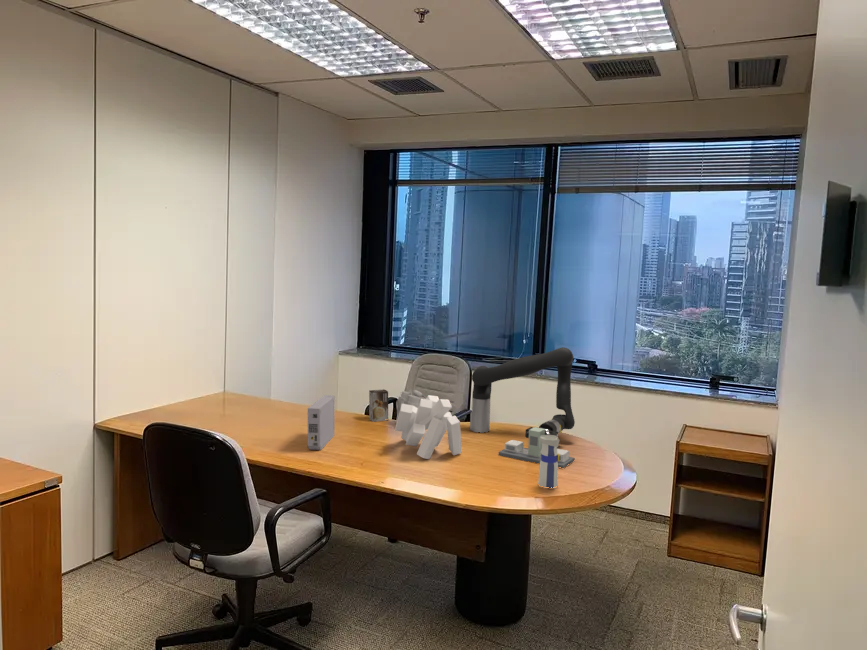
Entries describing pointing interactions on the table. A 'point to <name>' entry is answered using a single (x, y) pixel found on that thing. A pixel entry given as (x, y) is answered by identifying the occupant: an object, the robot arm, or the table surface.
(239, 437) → the table surface
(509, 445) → the rectangular blocks
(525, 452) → the mounting plate
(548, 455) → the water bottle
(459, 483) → the table surface
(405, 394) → the twin engine backpack
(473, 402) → the robot arm
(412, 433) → the white angular blocks
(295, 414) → the table surface
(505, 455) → the grey board
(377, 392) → the coffee box
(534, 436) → the tall block
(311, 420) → the game console
